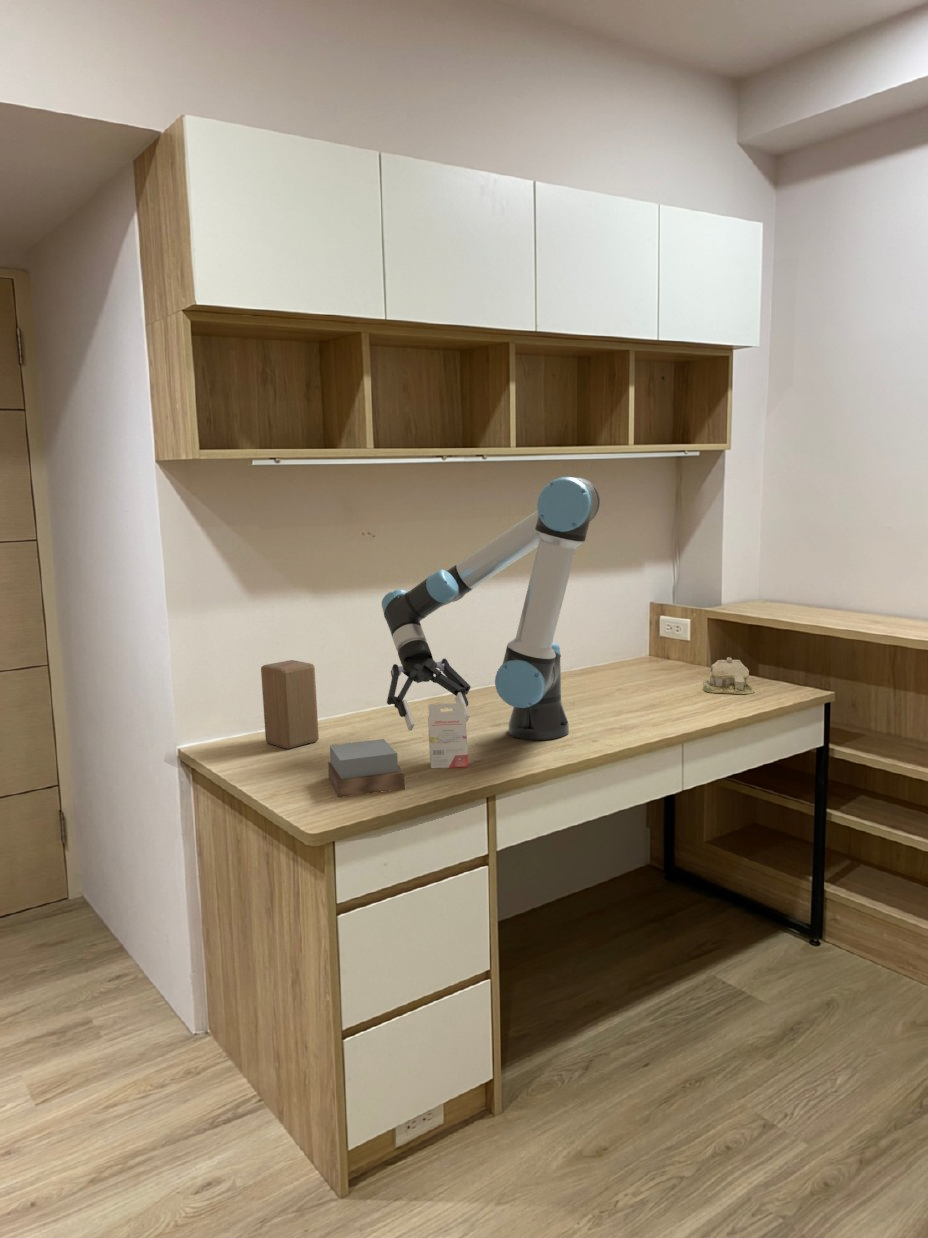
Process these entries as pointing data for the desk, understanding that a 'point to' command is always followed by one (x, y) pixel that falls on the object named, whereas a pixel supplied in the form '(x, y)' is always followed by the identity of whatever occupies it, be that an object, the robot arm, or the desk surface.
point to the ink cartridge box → (447, 736)
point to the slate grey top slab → (363, 758)
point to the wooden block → (289, 703)
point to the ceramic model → (728, 678)
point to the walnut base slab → (366, 782)
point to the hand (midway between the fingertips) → (439, 723)
